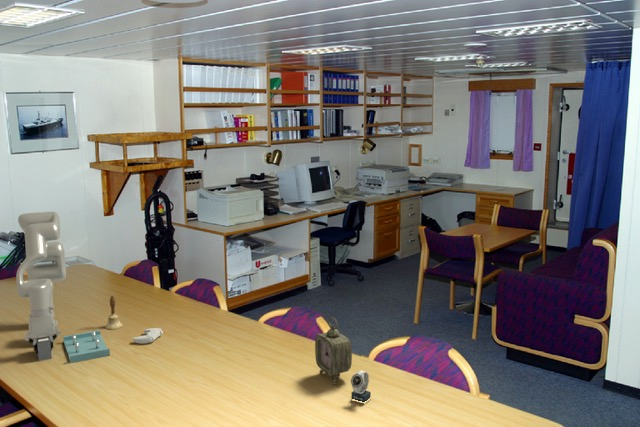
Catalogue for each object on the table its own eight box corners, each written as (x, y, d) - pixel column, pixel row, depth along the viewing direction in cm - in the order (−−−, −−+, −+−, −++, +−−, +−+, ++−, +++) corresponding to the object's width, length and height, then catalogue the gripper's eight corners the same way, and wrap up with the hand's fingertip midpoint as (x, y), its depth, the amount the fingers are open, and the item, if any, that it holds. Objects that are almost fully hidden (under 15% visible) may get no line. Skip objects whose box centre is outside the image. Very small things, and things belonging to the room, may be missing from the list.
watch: (348, 402, 209) (348, 374, 208) (360, 393, 216) (360, 366, 214) (361, 406, 206) (361, 378, 204) (373, 398, 213) (373, 370, 211)
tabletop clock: (315, 373, 233) (314, 314, 229) (334, 368, 238) (334, 310, 234) (333, 387, 221) (333, 325, 217) (353, 382, 225) (353, 321, 221)
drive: (37, 351, 256) (35, 334, 255) (49, 349, 259) (47, 332, 258) (39, 361, 246) (37, 343, 245) (51, 358, 249) (50, 341, 247)
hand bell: (122, 322, 292) (120, 292, 289) (122, 328, 284) (120, 297, 281) (105, 324, 289) (103, 294, 287) (104, 330, 281) (102, 299, 279)
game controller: (145, 327, 278) (164, 324, 276) (148, 335, 278) (166, 332, 276) (130, 338, 264) (149, 335, 262) (132, 347, 264) (152, 344, 262)
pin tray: (63, 342, 266) (62, 331, 265) (100, 336, 274) (99, 325, 273) (70, 363, 244) (69, 351, 243) (109, 355, 252) (109, 344, 251)
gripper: (60, 305, 257) (64, 344, 260) (18, 312, 248) (21, 352, 251) (62, 310, 250) (65, 350, 253) (18, 317, 242) (22, 358, 245)
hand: (43, 350), depth 252 cm, fingers closed on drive, 5 cm apart
